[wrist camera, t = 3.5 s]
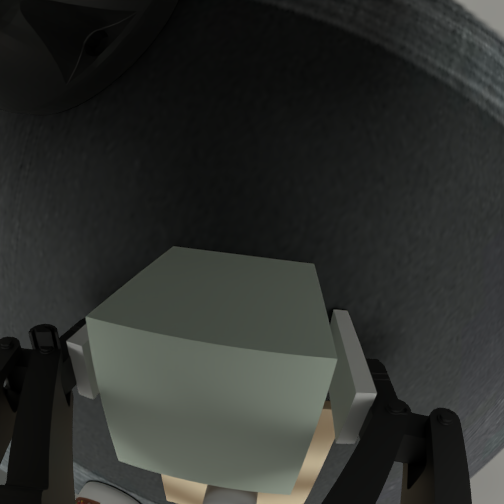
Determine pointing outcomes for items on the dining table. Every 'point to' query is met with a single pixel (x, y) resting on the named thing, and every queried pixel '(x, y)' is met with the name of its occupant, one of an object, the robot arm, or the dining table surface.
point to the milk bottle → (102, 495)
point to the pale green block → (215, 367)
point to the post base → (232, 500)
